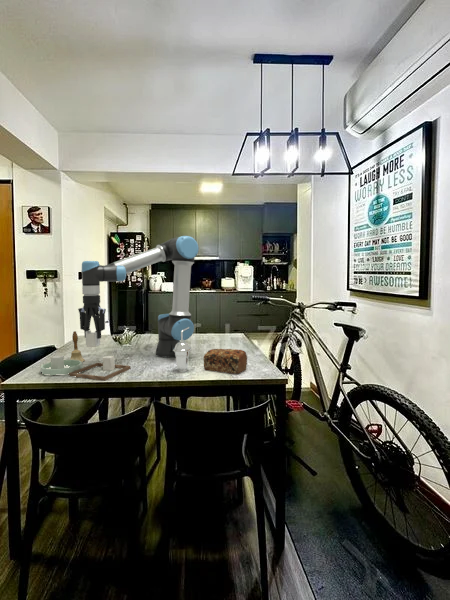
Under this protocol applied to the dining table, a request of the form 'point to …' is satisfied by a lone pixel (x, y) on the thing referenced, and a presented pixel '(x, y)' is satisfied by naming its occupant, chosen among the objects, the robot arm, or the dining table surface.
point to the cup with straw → (182, 354)
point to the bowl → (73, 367)
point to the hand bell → (76, 349)
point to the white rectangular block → (57, 362)
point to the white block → (90, 339)
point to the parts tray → (99, 376)
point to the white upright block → (108, 363)
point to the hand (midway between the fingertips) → (93, 345)
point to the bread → (225, 360)
